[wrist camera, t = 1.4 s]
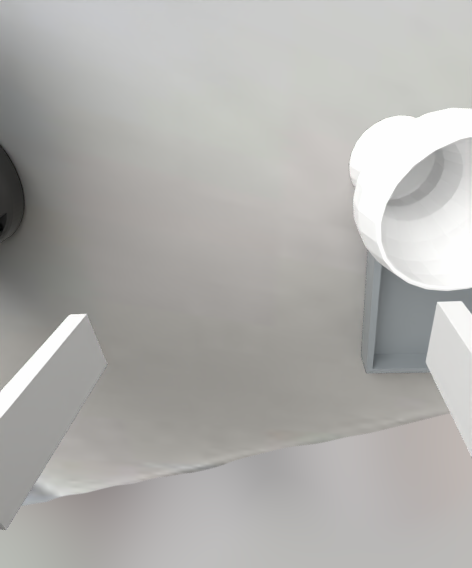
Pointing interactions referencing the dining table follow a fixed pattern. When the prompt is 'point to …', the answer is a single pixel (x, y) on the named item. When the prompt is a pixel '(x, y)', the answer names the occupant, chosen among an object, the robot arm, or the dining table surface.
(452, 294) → the tray
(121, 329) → the dining table surface
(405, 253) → the cup
